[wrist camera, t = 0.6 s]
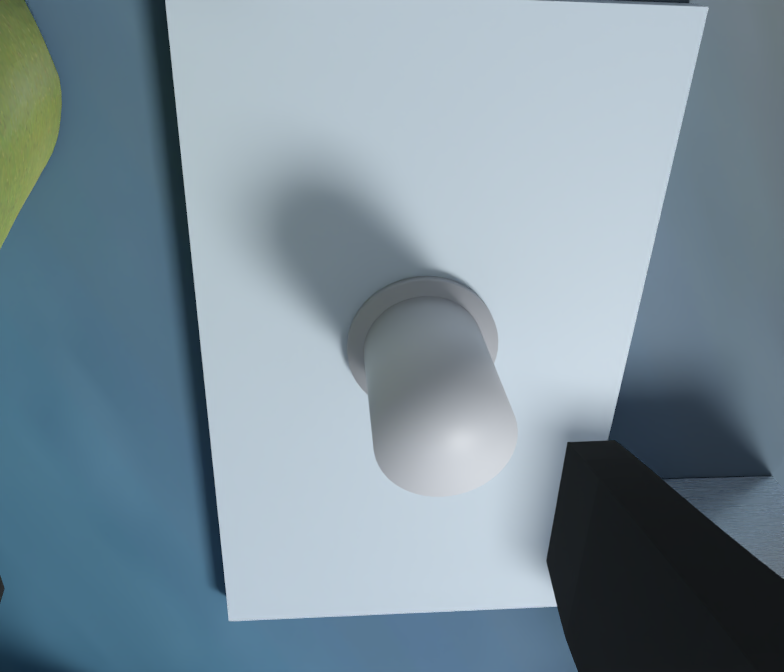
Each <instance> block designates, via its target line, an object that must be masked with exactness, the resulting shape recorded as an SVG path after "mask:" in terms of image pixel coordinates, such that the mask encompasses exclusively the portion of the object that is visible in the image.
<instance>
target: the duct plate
mask: <svg viewBox="0 0 784 672" xmlns="http://www.w3.org/2000/svg"><path fill="white" fill-rule="evenodd" d="M165 4H166V14H167V23H168V33H169V43H170V52H171V62H172V72H173V82H174V91H175V101H176V111H177V120H178V130H179V140H180V150H181V159H182V169H183V179H184V188H185V198H186V208H187V218H188V227H189V237H190V247H191V256H192V266H193V276H194V286H195V295H196V305H197V315H198V324H199V334H200V344H201V354H202V363H203V373H204V383H205V393H206V402H207V412H208V422H209V431H210V441H211V451H212V461H213V470H214V480H215V490H216V499H217V509H218V519H219V529H220V538H221V548H222V558H223V567H224V577H225V587H226V597H227V606H228V616H229V621H246V620H268V619H291V618H313V617H335V616H357V615H379V614H401V613H424V612H446V611H468V610H490V609H512V608H535V607H557V604H556V600H555V595H554V591H553V587H552V583H551V579H550V575H549V570H548V566H547V562H546V559H547V553H548V548H549V542H550V537H551V531H552V525H553V520H554V514H555V509H556V503H557V497H558V492H559V486H560V481H561V475H562V469H563V464H564V458H565V453H566V447H567V442H581V441H608V437H609V433H610V429H611V425H612V420H613V416H614V412H615V407H616V403H617V399H618V394H619V390H620V386H621V382H622V377H623V373H624V369H625V364H626V360H627V356H628V352H629V347H630V343H631V339H632V334H633V330H634V326H635V321H636V317H637V313H638V309H639V304H640V300H641V296H642V291H643V287H644V283H645V278H646V274H647V270H648V266H649V261H650V257H651V253H652V248H653V244H654V240H655V236H656V231H657V227H658V223H659V218H660V214H661V210H662V205H663V201H664V197H665V193H666V188H667V184H668V180H669V175H670V171H671V167H672V162H673V158H674V154H675V150H676V145H677V141H678V137H679V132H680V128H681V124H682V120H683V115H684V111H685V107H686V102H687V98H688V94H689V89H690V85H691V81H692V77H693V72H694V68H695V64H696V59H697V55H698V51H699V47H700V42H701V38H702V34H703V29H704V25H705V21H706V16H707V12H708V8H709V7H706V6H701V5H697V4H692V3H666V2H640V1H614V0H165Z"/></svg>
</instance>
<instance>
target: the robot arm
mask: <svg viewBox="0 0 784 672" xmlns="http://www.w3.org/2000/svg"><path fill="white" fill-rule="evenodd" d="M546 562H547V566H548V570H549V575H550V579H551V583H552V587H553V591H554V595H555V600H556V604H557V607H558V611H559V615H560V619H561V623H562V626H563V630H564V634H565V638H566V640H567V643H568V646H569V648H570V651H571V654H572V657H573V659H574V662H575V665H576V667H577V670H578V672H784V579H783V578H782V577H781V576H779V575H778V574H777V573H775V572H774V571H773V570H772V569H770V568H769V567H768V566H766V565H765V564H764V563H763V562H761V561H760V560H759V559H758V558H756V557H755V556H754V555H753V554H751V553H750V552H749V551H748V550H746V549H745V548H744V547H743V546H741V545H740V544H739V543H738V542H737V541H735V540H734V539H733V538H732V537H730V536H729V535H728V534H727V533H725V532H724V531H723V530H722V529H721V528H719V527H718V526H717V525H716V524H715V523H713V522H712V521H711V520H710V519H709V518H707V517H706V516H705V515H704V514H703V513H701V512H700V511H699V510H698V509H697V508H695V507H694V506H693V505H692V504H691V503H690V502H688V501H687V500H686V499H685V498H684V497H682V496H681V495H680V494H679V493H678V492H677V491H675V490H674V489H673V488H672V487H671V486H669V485H668V484H667V483H666V482H665V481H664V480H662V479H661V478H660V477H659V476H658V475H656V474H655V473H654V472H653V471H652V470H651V469H649V468H648V467H647V466H646V465H645V464H643V463H642V462H641V461H640V460H639V459H638V458H636V457H635V456H634V455H633V454H631V453H630V452H629V451H628V450H627V449H625V448H624V447H623V446H621V445H620V444H619V443H618V442H616V441H615V440H609V441H581V442H567V447H566V453H565V458H564V464H563V469H562V475H561V481H560V486H559V492H558V497H557V503H556V509H555V514H554V520H553V525H552V531H551V537H550V542H549V548H548V553H547V559H546ZM3 592H4V585H3V582H2V579H1V577H0V602H1V598H2V595H3Z"/></svg>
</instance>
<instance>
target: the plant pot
mask: <svg viewBox="0 0 784 672" xmlns="http://www.w3.org/2000/svg"><path fill="white" fill-rule="evenodd" d="M61 105H62V102H61V87H60V80H59V76H58V73H57V71H56V68H55V66H54V63H53V61H52V58H51V56H50V54H49V51H48V49H47V47H46V44H45V42H44V40H43V37H42V35H41V33H40V31H39V29H38V27H37V24H36V22H35V20H34V18H33V16H32V14H31V13H30V11H29V9H28V7H27V5H26V3H25V1H24V0H0V248H1V246H2V244H3V243H4V241H5V239H6V237H7V235H8V233H9V231H10V229H11V227H12V225H13V223H14V221H15V219H16V217H17V215H18V213H19V211H20V210H21V208H22V206H23V204H24V202H25V200H26V199H27V197H28V195H29V194H30V192H31V190H32V189H33V187H34V185H35V183H36V182H37V180H38V178H39V176H40V174H41V172H42V171H43V169H44V168H45V166H46V164H47V162H48V160H49V158H50V156H51V154H52V152H53V149H54V146H55V144H56V141H57V137H58V132H59V126H60V119H61Z"/></svg>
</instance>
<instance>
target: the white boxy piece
mask: <svg viewBox="0 0 784 672" xmlns="http://www.w3.org/2000/svg"><path fill="white" fill-rule="evenodd" d="M662 480H664V481H665V482H666V483H667V484H668V485H669V486H671V487H672V488H673V489H674V490H675V491H677V492H678V493H679V494H680V495H681V496H682V497H684V498H685V499H686V500H687V501H688V502H690V503H691V504H692V505H693V506H694V507H695V508H697V509H698V510H699V511H700V512H701V513H703V514H704V515H705V516H706V517H707V518H709V519H710V520H711V521H712V522H713V523H715V524H716V525H717V526H718V527H719V528H721V529H722V530H723V531H724V532H725V533H727V534H728V535H729V536H730V537H732V538H733V539H734V540H735V541H737V542H738V543H739V544H740V545H741V546H743V547H744V548H745V549H746V550H748V551H749V552H750V553H751V554H753V555H754V556H755V557H756V558H758V559H759V560H760V561H761V562H763V563H764V564H765V565H766V566H768V567H769V568H770V569H772V570H773V571H774V572H775V573H777V574H778V575H779V576H781V577H782V578H783V579H784V489H783V488H782V487H781V485H780V484H779V483H778V482H777V481H776V479H775V478H774V477H773V476H763V477H728V478H692V479H662Z"/></svg>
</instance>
